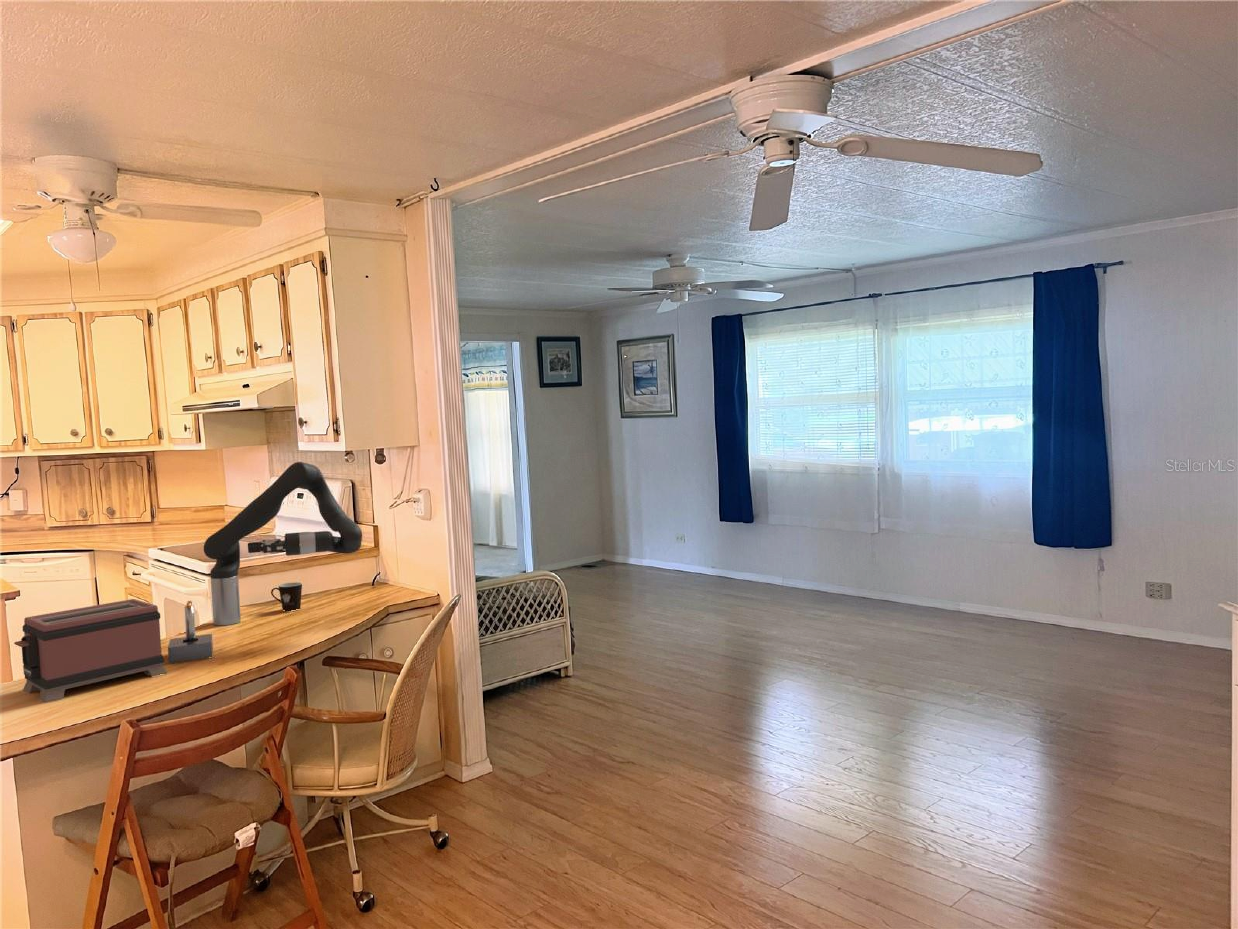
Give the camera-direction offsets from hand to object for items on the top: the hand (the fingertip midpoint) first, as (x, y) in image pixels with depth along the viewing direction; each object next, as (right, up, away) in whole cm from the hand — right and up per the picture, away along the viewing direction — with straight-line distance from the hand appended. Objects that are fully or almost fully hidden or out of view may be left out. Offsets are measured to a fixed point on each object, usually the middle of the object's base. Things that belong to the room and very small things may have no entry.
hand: (247, 548), depth 278 cm
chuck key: (-13, -32, -11) cm, 36 cm away
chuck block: (-13, -33, -11) cm, 37 cm away
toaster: (-29, -35, -36) cm, 58 cm away
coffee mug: (-7, -30, +52) cm, 60 cm away
